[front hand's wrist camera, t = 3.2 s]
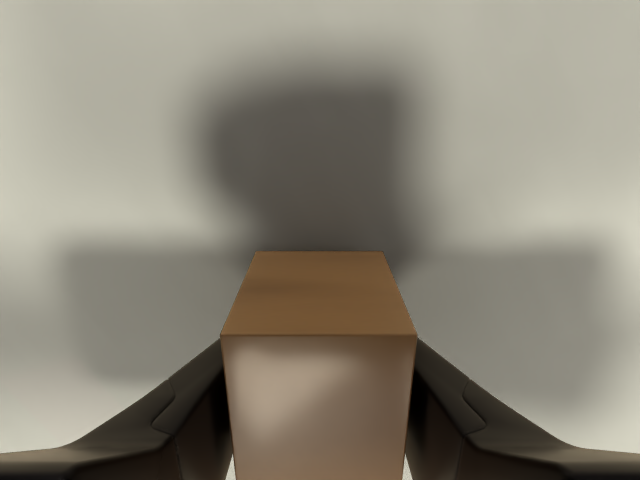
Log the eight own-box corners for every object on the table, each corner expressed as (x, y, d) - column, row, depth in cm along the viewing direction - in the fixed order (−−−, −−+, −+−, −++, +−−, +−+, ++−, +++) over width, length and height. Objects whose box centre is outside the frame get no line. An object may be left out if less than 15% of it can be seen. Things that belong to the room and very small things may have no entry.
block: (375, 374, 13) (400, 500, 9) (263, 374, 13) (237, 500, 9) (382, 250, 12) (418, 334, 7) (255, 250, 12) (218, 334, 7)
